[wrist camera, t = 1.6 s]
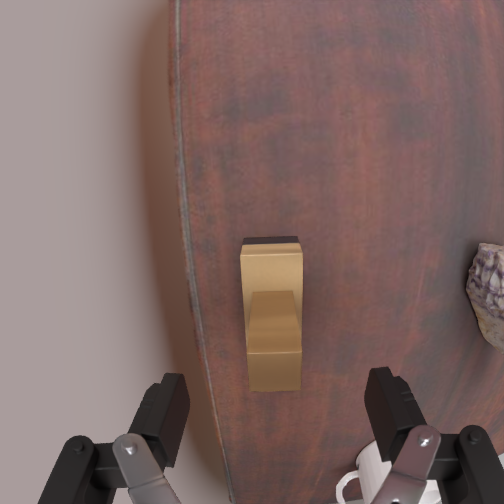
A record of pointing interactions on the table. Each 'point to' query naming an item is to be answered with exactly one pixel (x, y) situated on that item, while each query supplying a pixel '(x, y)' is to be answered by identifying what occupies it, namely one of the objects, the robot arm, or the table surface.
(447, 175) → the table surface
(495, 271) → the mineral specimen
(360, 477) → the mug
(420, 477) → the robot arm
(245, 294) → the scrub brush
